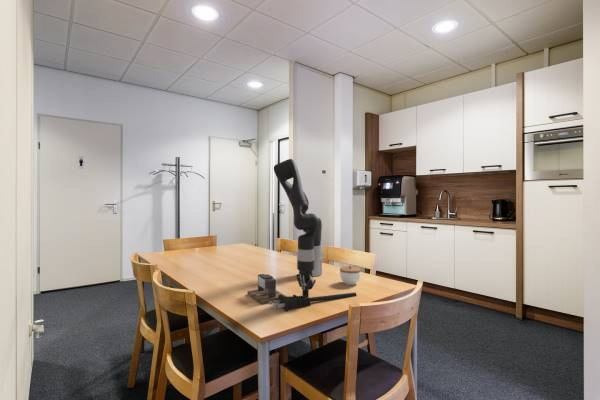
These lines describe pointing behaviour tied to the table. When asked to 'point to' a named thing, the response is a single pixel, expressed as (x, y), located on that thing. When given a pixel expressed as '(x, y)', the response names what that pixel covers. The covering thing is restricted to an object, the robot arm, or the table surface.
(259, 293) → the cutter stand
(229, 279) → the table surface
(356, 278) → the lidded jar
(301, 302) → the electrical plug
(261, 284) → the cutter head
